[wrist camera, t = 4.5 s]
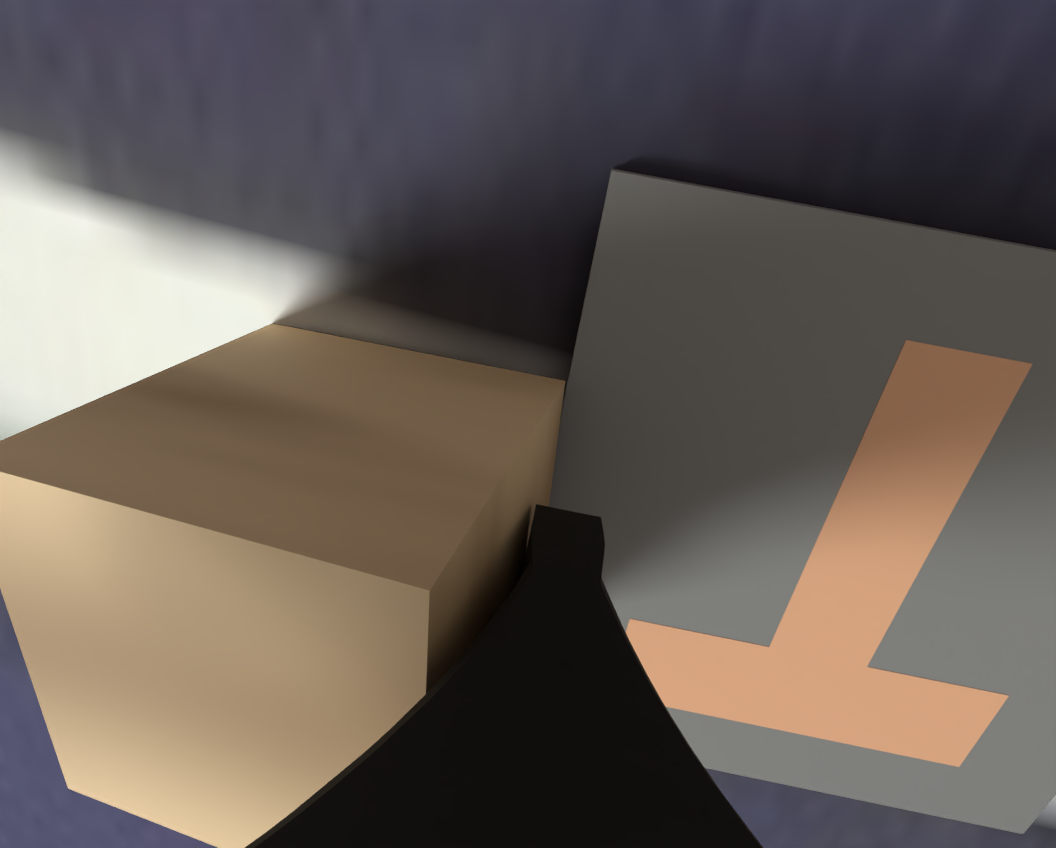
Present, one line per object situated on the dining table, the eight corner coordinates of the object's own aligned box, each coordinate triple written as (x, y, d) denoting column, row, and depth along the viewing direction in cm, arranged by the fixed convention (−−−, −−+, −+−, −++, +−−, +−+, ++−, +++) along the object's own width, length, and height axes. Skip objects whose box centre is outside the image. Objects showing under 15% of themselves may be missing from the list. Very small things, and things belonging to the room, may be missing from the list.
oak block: (532, 632, 12) (417, 926, 8) (292, 564, 13) (67, 788, 9) (564, 380, 10) (429, 590, 5) (272, 323, 11) (-43, 458, 6)
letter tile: (1011, 814, 14) (1023, 834, 13) (500, 708, 14) (496, 725, 14) (1410, 315, 9) (1445, 323, 8) (611, 168, 9) (611, 170, 9)
